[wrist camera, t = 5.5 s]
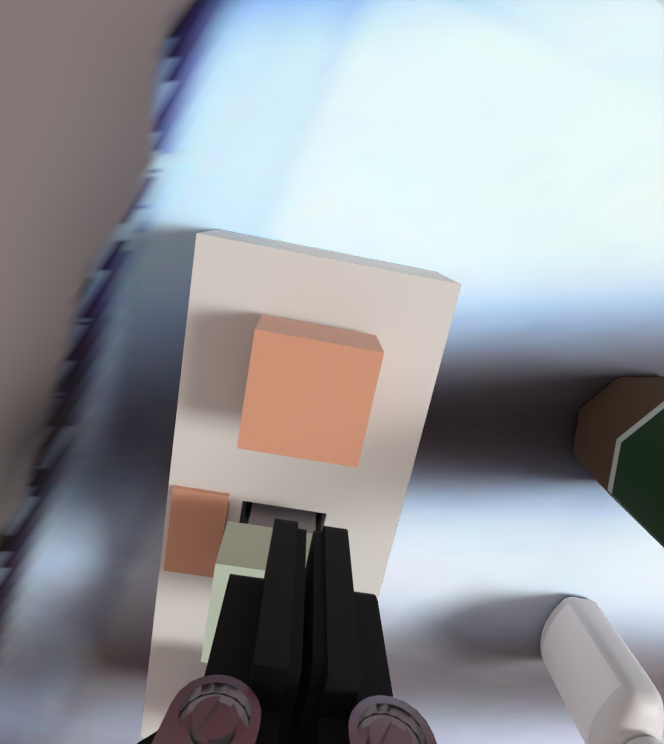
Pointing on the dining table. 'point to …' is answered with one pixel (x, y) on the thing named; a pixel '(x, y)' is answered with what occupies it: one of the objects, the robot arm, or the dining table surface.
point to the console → (276, 472)
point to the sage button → (248, 554)
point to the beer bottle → (627, 447)
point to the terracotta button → (309, 391)
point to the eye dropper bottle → (600, 677)
